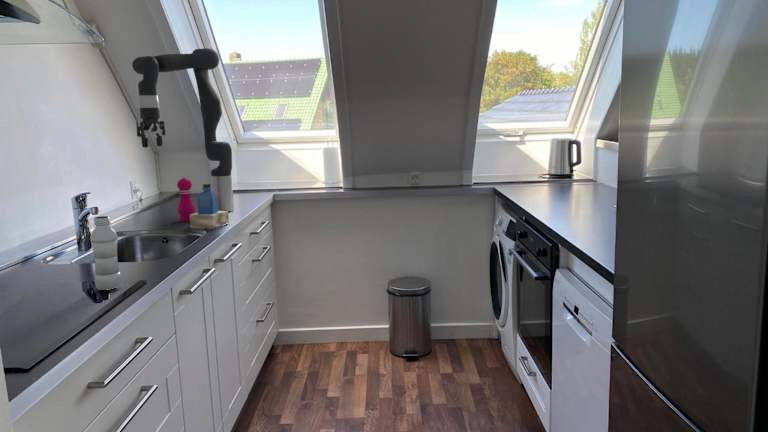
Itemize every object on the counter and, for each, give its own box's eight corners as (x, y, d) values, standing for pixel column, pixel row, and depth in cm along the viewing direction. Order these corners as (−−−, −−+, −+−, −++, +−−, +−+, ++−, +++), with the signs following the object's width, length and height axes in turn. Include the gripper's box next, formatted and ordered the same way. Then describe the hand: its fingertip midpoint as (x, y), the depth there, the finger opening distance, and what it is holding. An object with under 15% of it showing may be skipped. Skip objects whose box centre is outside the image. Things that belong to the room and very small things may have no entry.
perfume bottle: (218, 211, 236) (216, 183, 234) (213, 214, 230) (211, 185, 228) (203, 211, 236) (201, 183, 234) (198, 214, 230) (196, 185, 228)
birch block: (207, 223, 241) (206, 210, 240) (229, 225, 237) (228, 211, 236) (190, 228, 231) (189, 214, 230) (212, 230, 227) (211, 216, 226)
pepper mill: (190, 222, 243) (186, 176, 239) (175, 221, 245) (171, 176, 241) (198, 218, 250) (195, 174, 246) (184, 218, 252) (180, 174, 248)
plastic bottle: (101, 286, 154) (93, 215, 150) (126, 285, 154) (119, 214, 151) (91, 294, 148) (82, 220, 144) (117, 293, 148) (110, 219, 144)
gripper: (144, 106, 221) (148, 148, 224) (168, 106, 234) (171, 145, 237) (129, 107, 223) (133, 147, 226) (153, 107, 236) (156, 145, 239)
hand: (152, 146), depth 231 cm, fingers open, 8 cm apart
